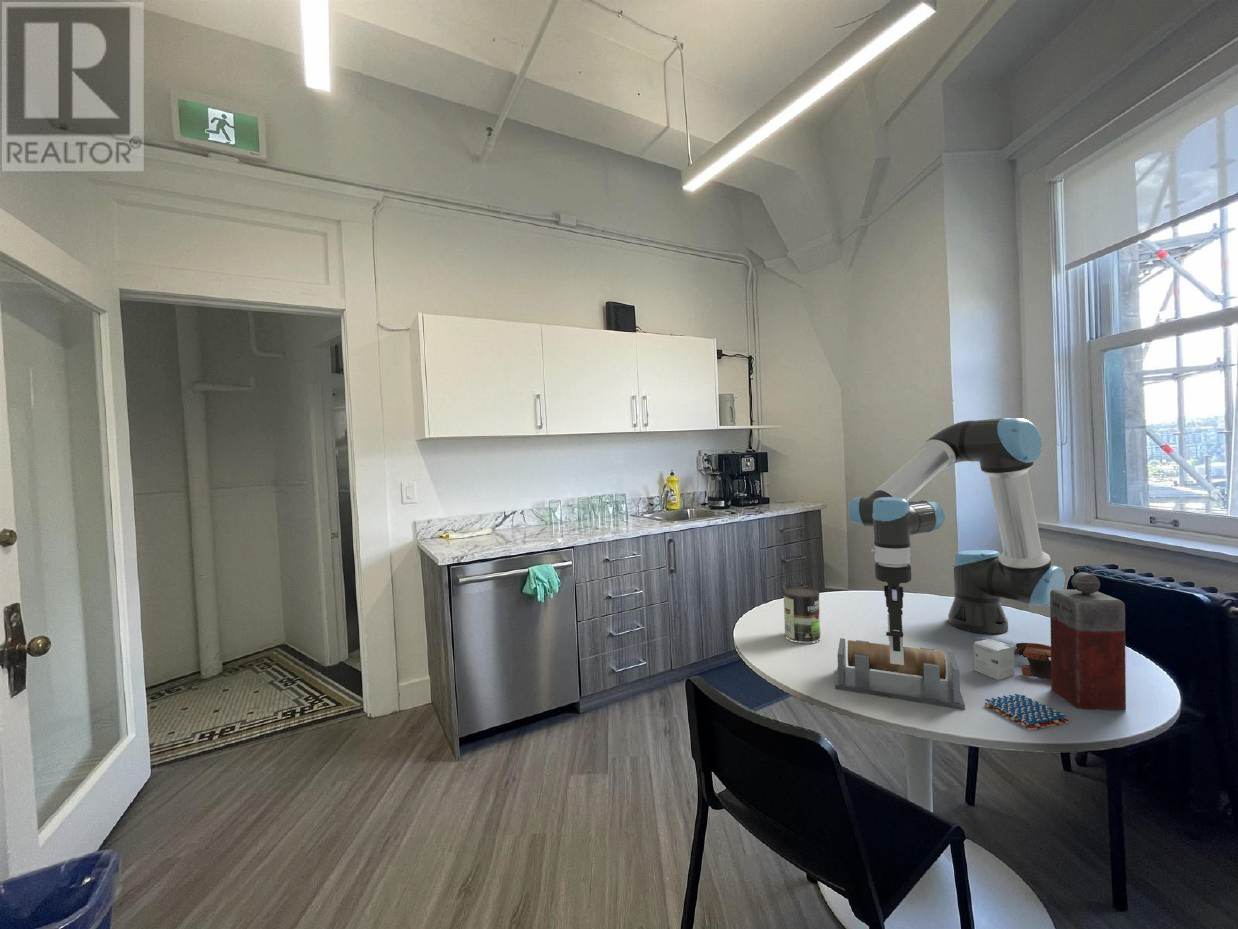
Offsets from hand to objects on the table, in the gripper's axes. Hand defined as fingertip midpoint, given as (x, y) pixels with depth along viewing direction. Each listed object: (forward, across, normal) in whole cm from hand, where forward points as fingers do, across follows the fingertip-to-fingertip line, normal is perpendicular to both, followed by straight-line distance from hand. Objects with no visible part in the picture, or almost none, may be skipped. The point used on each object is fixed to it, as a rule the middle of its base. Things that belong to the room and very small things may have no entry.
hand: (895, 652), depth 121 cm
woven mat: (+9, +4, +24) cm, 26 cm away
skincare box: (+9, -17, +22) cm, 29 cm away
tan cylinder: (+5, 0, 0) cm, 5 cm away
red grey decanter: (+9, -10, +37) cm, 39 cm away
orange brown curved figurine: (+9, -20, +32) cm, 39 cm away
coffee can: (+9, -25, -24) cm, 36 cm away
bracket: (+9, 0, 0) cm, 9 cm away
